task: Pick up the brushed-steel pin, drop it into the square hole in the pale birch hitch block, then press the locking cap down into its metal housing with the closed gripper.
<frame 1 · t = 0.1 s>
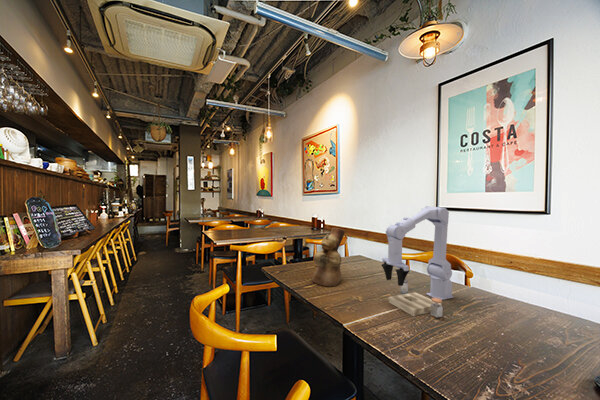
hand: (394, 282, 112), 10 cm above the table, tool pointing down, fingers open, 7 cm apart
hitch block: (414, 306, 111), on the table
plunger housing: (436, 317, 100), on the table
ceramic vessel: (330, 281, 142), on the table
locking cap: (436, 304, 100), point 5 cm above the table, slide at 0.0 cm
steel pin: (404, 294, 124), on the table
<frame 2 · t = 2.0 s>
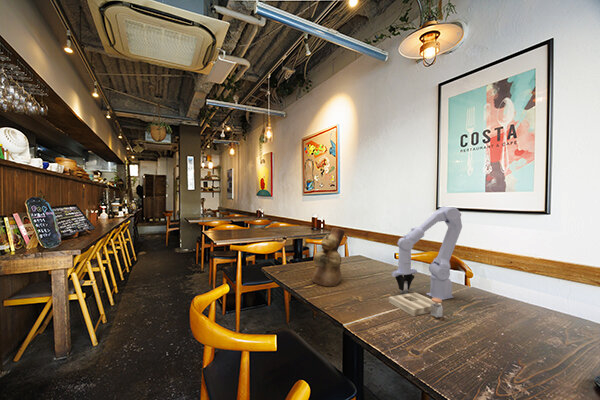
hand: (404, 289, 124), 2 cm above the table, tool pointing down, fingers closed on steel pin, 3 cm apart
steel pin: (404, 294, 124), on the table, touching gripper
everything else where it was.
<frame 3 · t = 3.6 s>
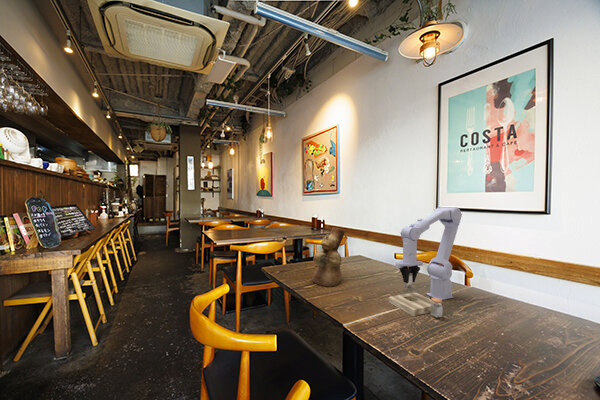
hand: (409, 282, 115), 9 cm above the table, tool pointing down, fingers closed on steel pin, 3 cm apart
steel pin: (408, 287, 115), point 7 cm above the table, touching gripper
everything else where it was.
when the fingers open (3 cm above the table, at t = 5.2 s): steel pin stays where it is, resting in hitch block.
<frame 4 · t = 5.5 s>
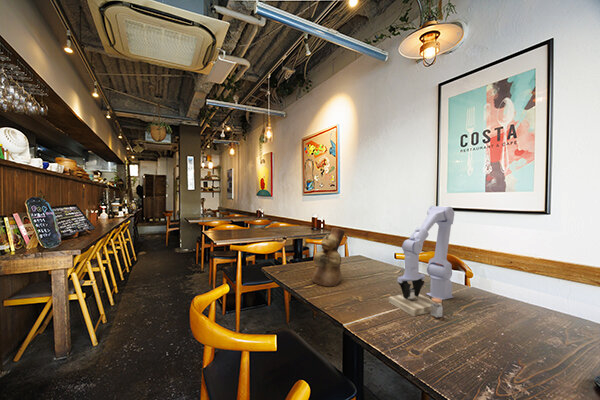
hand: (410, 296, 112), 3 cm above the table, tool pointing down, fingers open, 6 cm apart
steel pin: (410, 304, 113), resting in hitch block
everything else where it was.
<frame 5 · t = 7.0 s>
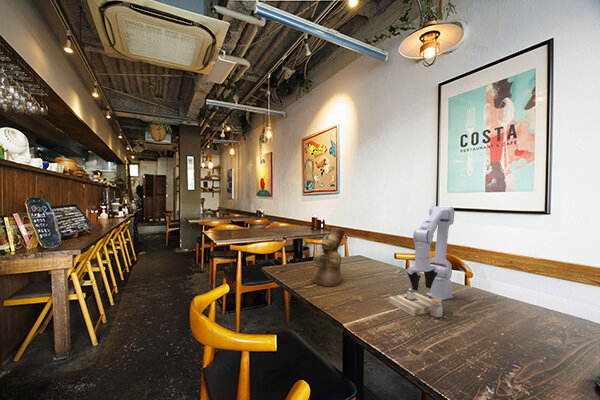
hand: (421, 288, 107), 9 cm above the table, tool pointing down, fingers open, 7 cm apart
nothing on the table moved.
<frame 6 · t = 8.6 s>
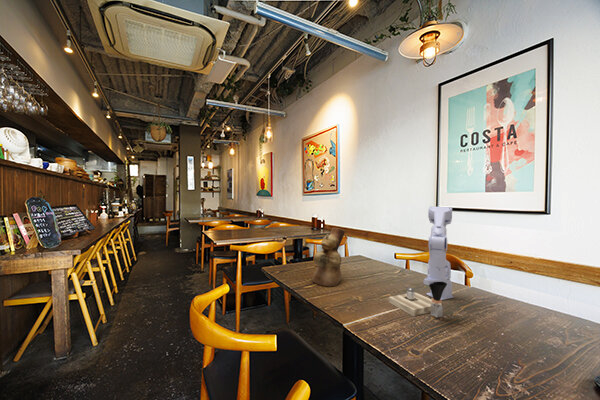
hand: (436, 299, 100), 7 cm above the table, tool pointing down, fingers closed, pressing on locking cap
locking cap: (436, 305, 100), point 5 cm above the table, slide at 0.2 cm, touching gripper
everything else where it was.
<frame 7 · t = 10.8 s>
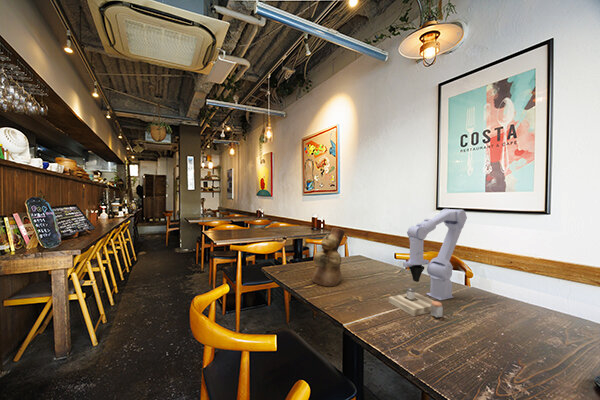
hand: (415, 281, 116), 9 cm above the table, tool pointing down, fingers closed
locking cap: (436, 308, 100), point 4 cm above the table, slide at 1.4 cm
everything else where it was.
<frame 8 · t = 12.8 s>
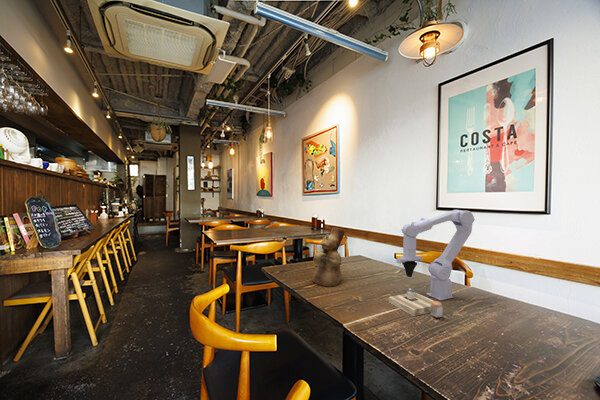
hand: (409, 276, 122), 9 cm above the table, tool pointing down, fingers closed
nothing on the table moved.
at the end: steel pin 0.2 cm from the target spot on the hitch block, point 0.0 cm above the hitch block's base; steel pin tilted 1°; locking cap slide at 1.4 cm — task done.
